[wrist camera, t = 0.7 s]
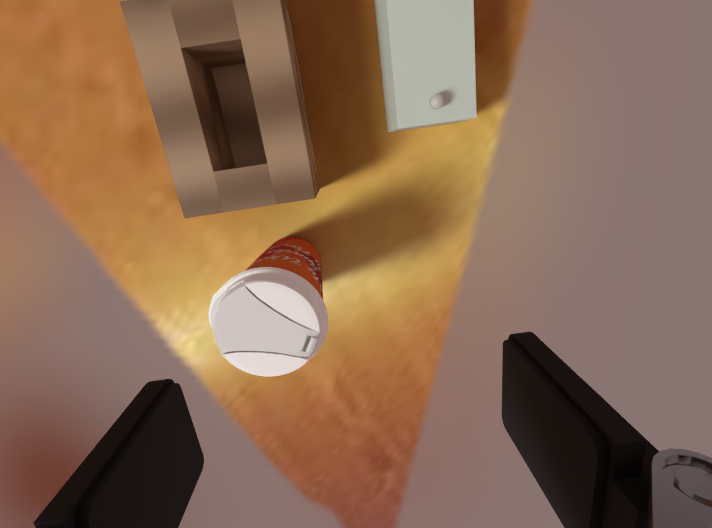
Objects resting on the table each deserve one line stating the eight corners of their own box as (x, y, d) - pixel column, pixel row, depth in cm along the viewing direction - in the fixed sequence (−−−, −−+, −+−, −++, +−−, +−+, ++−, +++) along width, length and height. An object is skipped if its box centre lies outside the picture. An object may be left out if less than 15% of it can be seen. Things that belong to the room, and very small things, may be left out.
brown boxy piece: (165, 18, 29) (73, -52, 19) (287, 0, 29) (260, -80, 19) (215, 204, 33) (162, 228, 23) (319, 188, 33) (312, 205, 23)
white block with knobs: (371, -24, 29) (381, -75, 22) (444, -34, 29) (476, -88, 22) (387, 132, 32) (399, 128, 26) (452, 123, 32) (480, 116, 26)
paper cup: (342, 242, 35) (345, 298, 22) (316, 308, 37) (304, 396, 24) (266, 213, 34) (220, 255, 21) (243, 284, 36) (188, 362, 23)
